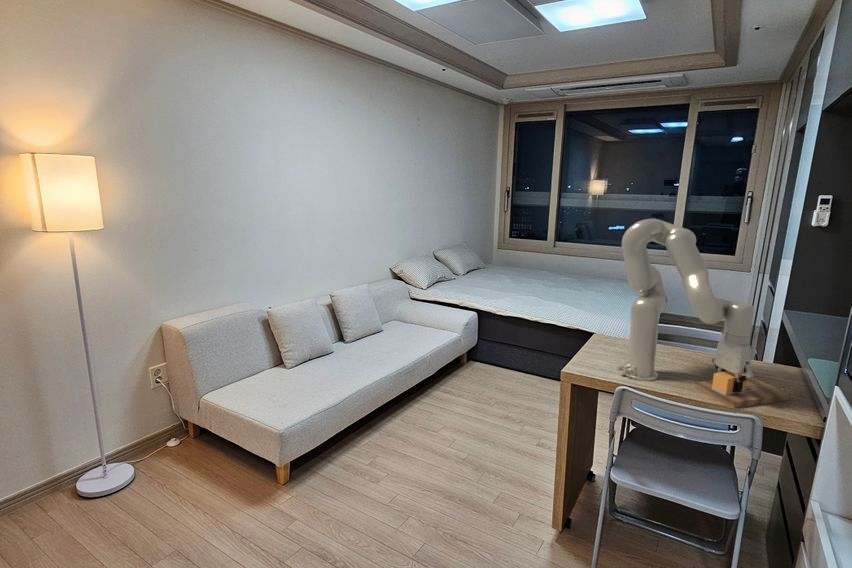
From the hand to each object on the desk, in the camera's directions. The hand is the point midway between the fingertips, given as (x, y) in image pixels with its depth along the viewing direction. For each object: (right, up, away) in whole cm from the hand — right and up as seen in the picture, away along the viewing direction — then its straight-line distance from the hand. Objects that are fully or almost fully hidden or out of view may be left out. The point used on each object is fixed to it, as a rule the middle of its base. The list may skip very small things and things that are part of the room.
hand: (729, 387), depth 154 cm
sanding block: (0, -1, 0) cm, 1 cm away
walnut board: (+6, -3, +2) cm, 7 cm away
